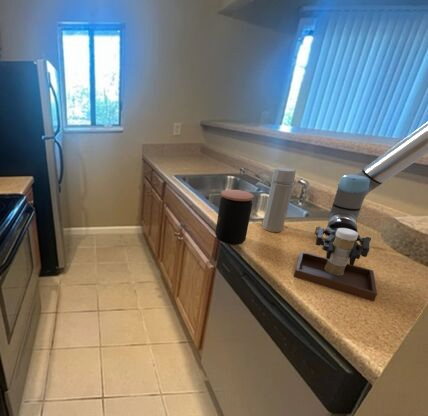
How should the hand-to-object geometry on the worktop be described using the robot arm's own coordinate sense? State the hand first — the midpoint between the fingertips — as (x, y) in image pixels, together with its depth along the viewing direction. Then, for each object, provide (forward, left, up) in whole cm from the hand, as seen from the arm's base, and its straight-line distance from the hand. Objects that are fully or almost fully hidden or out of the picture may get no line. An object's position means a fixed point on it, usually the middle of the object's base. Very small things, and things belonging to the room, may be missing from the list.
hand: (340, 257), depth 74 cm
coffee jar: (+31, -12, -9) cm, 35 cm away
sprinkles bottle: (0, -5, -8) cm, 9 cm away
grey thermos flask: (+20, -30, -9) cm, 38 cm away
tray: (0, -5, -9) cm, 11 cm away
